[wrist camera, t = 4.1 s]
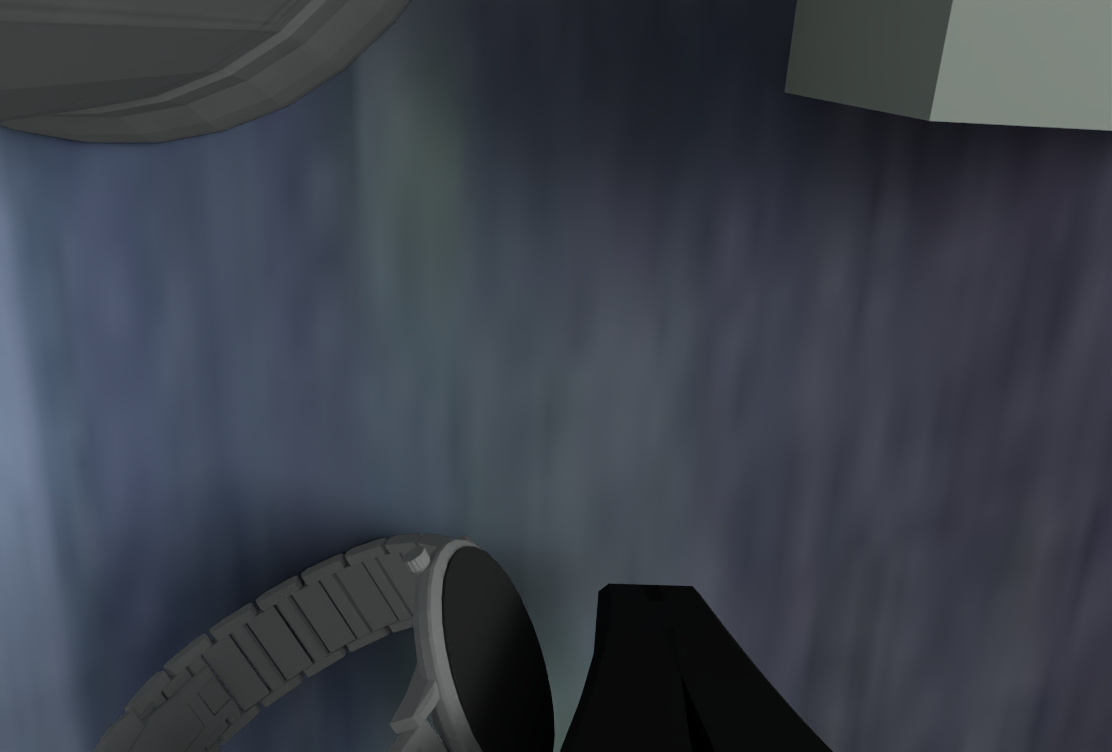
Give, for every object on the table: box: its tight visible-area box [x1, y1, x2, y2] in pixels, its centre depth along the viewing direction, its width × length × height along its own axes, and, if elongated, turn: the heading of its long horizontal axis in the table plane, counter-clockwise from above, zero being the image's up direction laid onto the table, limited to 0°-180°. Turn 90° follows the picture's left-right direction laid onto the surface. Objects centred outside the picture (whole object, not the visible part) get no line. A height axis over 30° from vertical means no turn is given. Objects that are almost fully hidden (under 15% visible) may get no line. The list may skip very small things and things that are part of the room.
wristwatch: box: [93, 533, 555, 752], centre depth 10 cm, size 3×5×5 cm, turn 115°
